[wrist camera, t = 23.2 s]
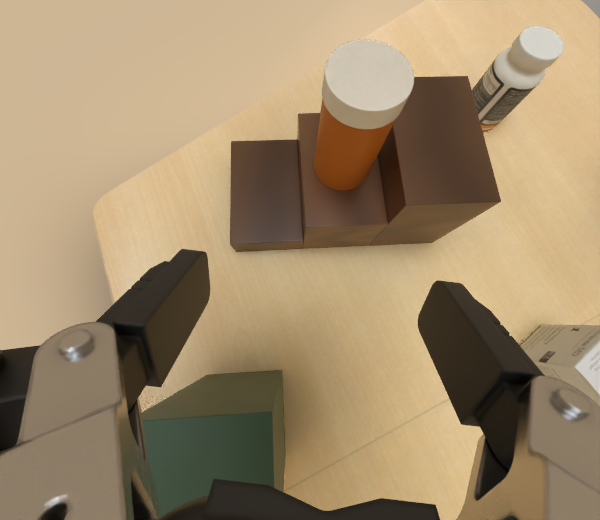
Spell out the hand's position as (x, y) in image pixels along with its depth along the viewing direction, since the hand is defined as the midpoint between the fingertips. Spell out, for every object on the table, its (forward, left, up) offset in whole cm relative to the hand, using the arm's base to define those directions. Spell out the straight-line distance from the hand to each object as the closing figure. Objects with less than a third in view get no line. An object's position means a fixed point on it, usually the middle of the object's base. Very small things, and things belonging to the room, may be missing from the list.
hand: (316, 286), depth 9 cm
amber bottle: (+5, +14, -14) cm, 20 cm away
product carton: (+27, -7, -21) cm, 35 cm away
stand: (-6, -10, -21) cm, 24 cm away
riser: (+5, +14, -21) cm, 26 cm away
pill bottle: (+27, +26, -21) cm, 43 cm away
